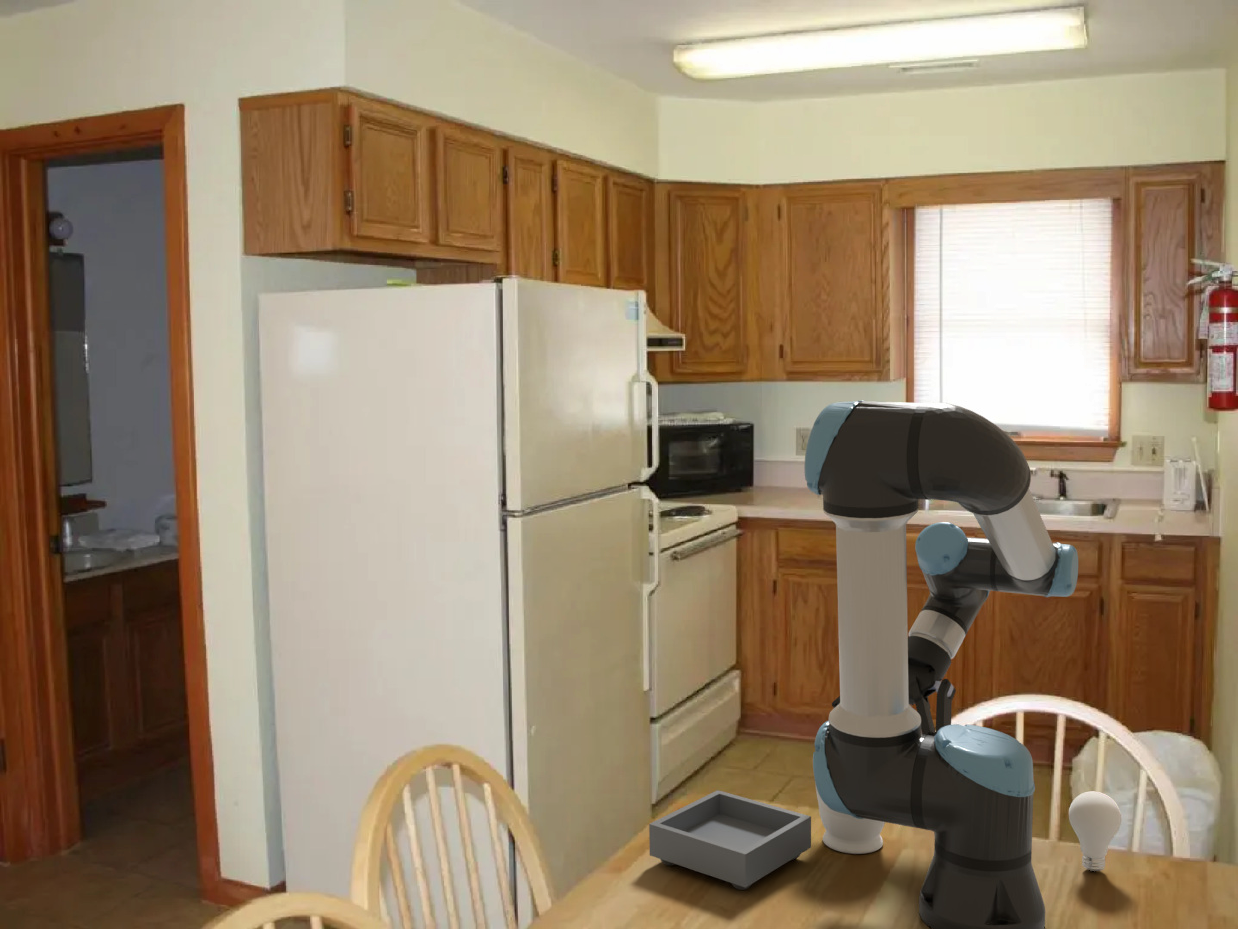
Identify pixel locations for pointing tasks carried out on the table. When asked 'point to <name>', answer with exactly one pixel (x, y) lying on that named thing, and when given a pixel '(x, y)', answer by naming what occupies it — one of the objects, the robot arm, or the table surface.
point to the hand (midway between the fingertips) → (864, 768)
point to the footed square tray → (730, 838)
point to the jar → (849, 831)
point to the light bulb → (1094, 826)
